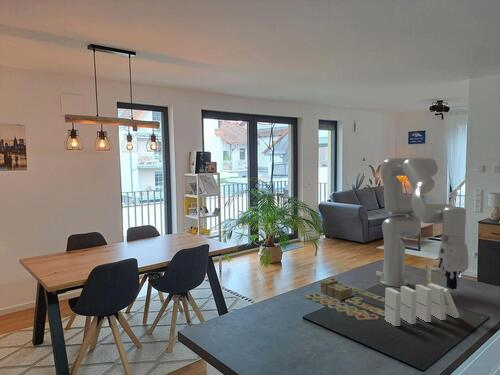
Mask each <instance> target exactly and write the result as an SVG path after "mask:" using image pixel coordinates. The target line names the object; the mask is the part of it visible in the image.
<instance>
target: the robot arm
mask: <svg viewBox="0 0 500 375" xmlns="http://www.w3.org/2000/svg"><path fill="white" fill-rule="evenodd" d="M438 169H439V168H438V162H436V161H435V160H434V159H433V158H431V157H391V158H386V159H385V160H383V161H382V164H381V165H380V177H381V182H382V185H383V199H384V203H383V204H384V209H385V212H386V213H387V214H388V215H395V217H388V218H385V219H384V221H382V224H381V228H382V235H383V266H382V267H383V270H382V271H379V270H376V271H375V275H376V276H377V277H380V278H379V283H381V284H383V285H384V286H387V287H396V288H401V286H406V287H408V285H409V281H407V279H405V270H406V268H405V267H406V266H405V265H406V262H405V261H406V246H405V243H404V242H403V241H402V238H415V237H417V236H419V235H420V233H421V230H422V229H421V227H422V224H421V222H422V223H423V224H441V225H442V228H441V229H442V231H441V237H440V241H441V242H440V246H439V250H438V256H437V266H438V267H439V268H440V270H439V273H441V274H442V275H444V276H445V278H446V289H451V290H452V291H453V290H457V286H458V279H459V277H460V275H461V274H462V273H465V271H467V270H468V269H469V253H468V252H469V251H468V250H469V249H468V245H467V243H466V220H467V212H466V211H467V209H466V208H464V207H462V206H457V205H456V206H454V205H453V204H448V203H427V202H426V200H425V199H424V197H423V196H425V195H426V194H428V193H430V192H431V191H432V190H433V189H434V188H435V185H436V182H435V180H434V179H433V177H435V175H436V174H437V173H438ZM399 177H406V178H407V180H408V182H409V184H410V186H411V188H412V189H413V192H412V194H404V190H403V189H404V186H403V184H402V182H401V179H399ZM396 215H397V216H398V215H405V217H400V216H399V217H396Z"/></svg>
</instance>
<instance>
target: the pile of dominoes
mask: <svg viewBox="0 0 500 375" xmlns="http://www.w3.org/2000/svg"><path fill="white" fill-rule="evenodd" d="M353 293H356V294H358V295H361V296H363V297H366V296H367V297H366V298H368V297H370V298H369V299H372V300H375V299H376V300H375V301H377V300H379V301H378V302H380V301H382V302H381V303H383V302H385V297H383V296H381V295H377V294H375V293H371V292H370V291H367V290H364V289H360V288H359V287H358V288H357V287H355V286H352V285H350V284H349V285H348V284H347V285H346V284H345V283H341V282H339V280H338V279H337V278H334V277H329V278H327V279H323V280H322V279H321V280H320V293H311V294H309V293H308V294H304V298H305V299H306V300H312V301H313V302H314V303H319V304H321V305H322V306H324V307H326V306H327V307H328V309H331V310H336V311H337V313H341V314H343V313H345V314H346V315H347V316H349V317H355V318H356V319H357V321H360V322H361V321H365V322H366V321H373V320H374V321H377V320H380V318H379V316H380V315H381V317H383V316H385V310H382V309H381V308H378V307H373V306H371V305H369V304H367V303H364V302H363V301H364V299H363V297H360V296H353ZM324 294H325V295H327V296H325V295H324ZM333 298H335V299H333ZM340 300H344V302H341V301H340ZM349 304H350V305H351V306H350V305H349ZM358 308H360V310H359V309H358ZM367 311H369V312H371V314H370V313H369V312H367Z"/></svg>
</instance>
